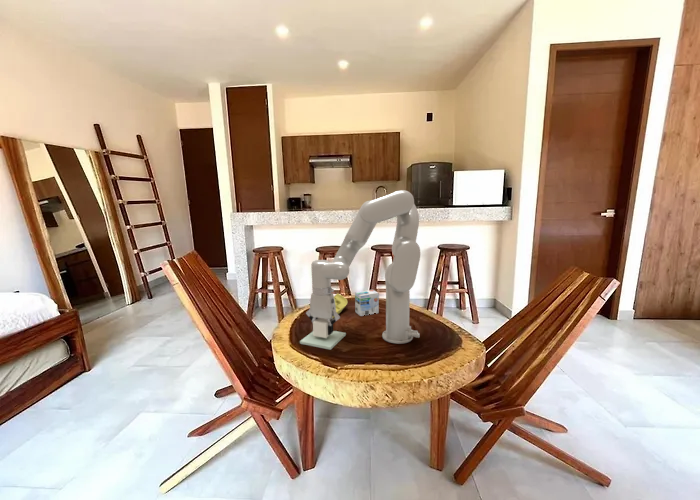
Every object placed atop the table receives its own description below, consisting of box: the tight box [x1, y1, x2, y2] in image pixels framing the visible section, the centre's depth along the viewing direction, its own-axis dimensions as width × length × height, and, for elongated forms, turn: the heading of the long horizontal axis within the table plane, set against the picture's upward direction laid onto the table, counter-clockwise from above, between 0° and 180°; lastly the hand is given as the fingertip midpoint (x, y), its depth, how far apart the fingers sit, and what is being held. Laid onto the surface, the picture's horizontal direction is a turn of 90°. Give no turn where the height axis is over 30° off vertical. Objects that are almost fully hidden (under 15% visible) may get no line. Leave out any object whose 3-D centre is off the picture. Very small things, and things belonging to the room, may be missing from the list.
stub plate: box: [299, 330, 347, 350], centre depth 126 cm, size 14×14×4 cm
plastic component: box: [332, 293, 348, 319], centre depth 157 cm, size 20×7×10 cm
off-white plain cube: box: [312, 318, 331, 338], centre depth 126 cm, size 6×6×6 cm
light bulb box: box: [354, 289, 380, 317], centre depth 155 cm, size 11×7×11 cm, turn 113°
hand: (323, 332), depth 126 cm, fingers closed on off-white plain cube, 5 cm apart
